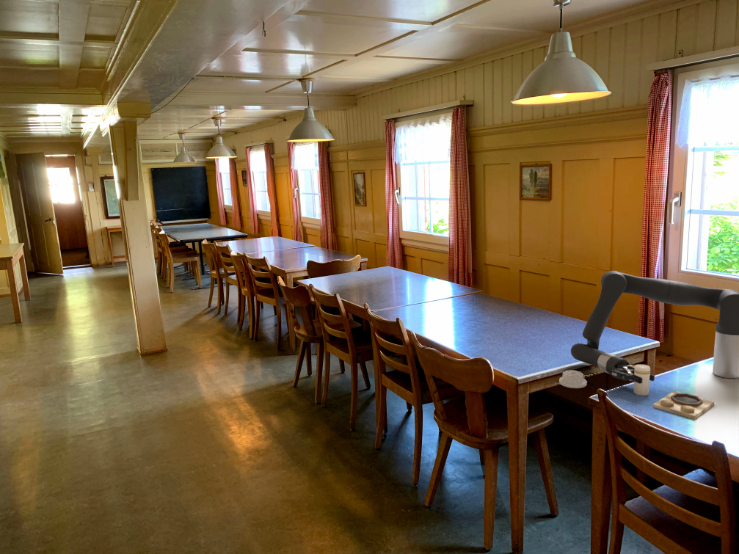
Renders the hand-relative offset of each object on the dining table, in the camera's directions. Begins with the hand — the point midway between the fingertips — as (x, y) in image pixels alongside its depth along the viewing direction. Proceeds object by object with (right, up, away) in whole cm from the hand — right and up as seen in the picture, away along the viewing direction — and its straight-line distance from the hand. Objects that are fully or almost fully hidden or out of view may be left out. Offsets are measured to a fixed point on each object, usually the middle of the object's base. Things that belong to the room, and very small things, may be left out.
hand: (647, 379), depth 192 cm
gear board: (+8, -7, -9) cm, 14 cm away
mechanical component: (-21, -5, +15) cm, 26 cm away
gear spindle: (-1, -5, +4) cm, 7 cm away
